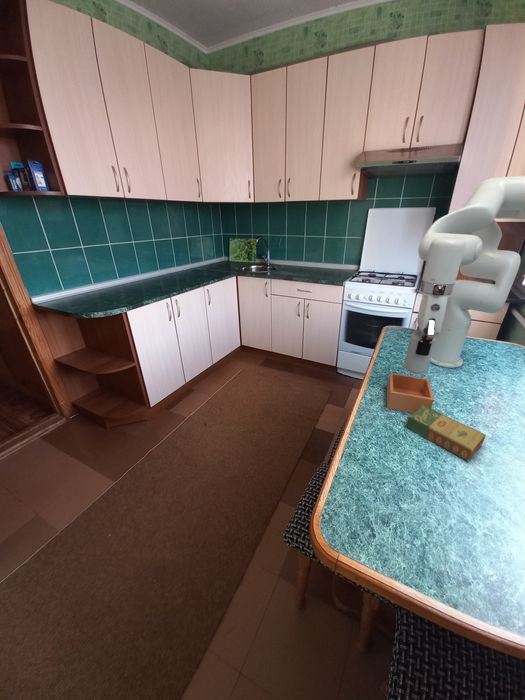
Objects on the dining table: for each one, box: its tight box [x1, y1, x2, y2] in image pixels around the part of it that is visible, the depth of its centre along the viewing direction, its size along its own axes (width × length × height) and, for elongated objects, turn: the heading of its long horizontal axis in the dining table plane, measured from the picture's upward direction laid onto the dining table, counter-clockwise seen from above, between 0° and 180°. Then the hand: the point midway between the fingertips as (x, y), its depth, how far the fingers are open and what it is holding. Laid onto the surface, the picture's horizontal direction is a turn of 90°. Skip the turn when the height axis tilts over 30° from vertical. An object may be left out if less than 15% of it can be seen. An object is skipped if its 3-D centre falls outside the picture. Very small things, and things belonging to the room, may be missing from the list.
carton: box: [406, 405, 486, 462], centre depth 77 cm, size 8×16×4 cm, turn 38°
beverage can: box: [403, 329, 437, 375], centre depth 84 cm, size 6×6×12 cm
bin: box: [386, 372, 435, 414], centre depth 91 cm, size 12×12×6 cm
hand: (420, 348), depth 84 cm, fingers closed on beverage can, 6 cm apart
